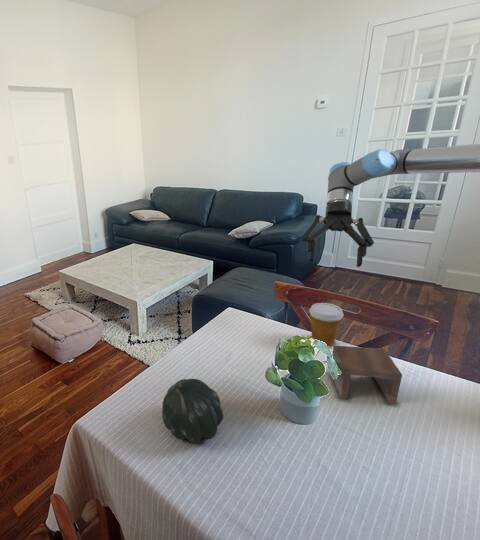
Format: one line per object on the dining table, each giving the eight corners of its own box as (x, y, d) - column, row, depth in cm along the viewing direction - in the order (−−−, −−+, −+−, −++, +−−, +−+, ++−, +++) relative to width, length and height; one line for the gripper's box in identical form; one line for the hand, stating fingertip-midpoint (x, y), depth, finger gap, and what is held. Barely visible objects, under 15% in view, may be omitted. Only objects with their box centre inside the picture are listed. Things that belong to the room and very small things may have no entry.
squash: (234, 394, 86) (193, 355, 85) (234, 444, 73) (185, 399, 72) (193, 416, 93) (155, 380, 92) (187, 465, 80) (142, 423, 79)
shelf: (379, 376, 94) (384, 348, 91) (395, 404, 85) (402, 374, 81) (330, 371, 98) (333, 345, 95) (340, 397, 88) (345, 369, 85)
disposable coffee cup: (337, 352, 106) (341, 318, 102) (303, 343, 112) (306, 311, 108) (341, 337, 113) (346, 305, 108) (309, 330, 118) (312, 300, 114)
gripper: (378, 213, 114) (376, 271, 109) (296, 208, 124) (290, 262, 118) (387, 201, 108) (385, 263, 102) (300, 198, 117) (294, 254, 111)
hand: (334, 263), depth 110 cm, fingers open, 13 cm apart
